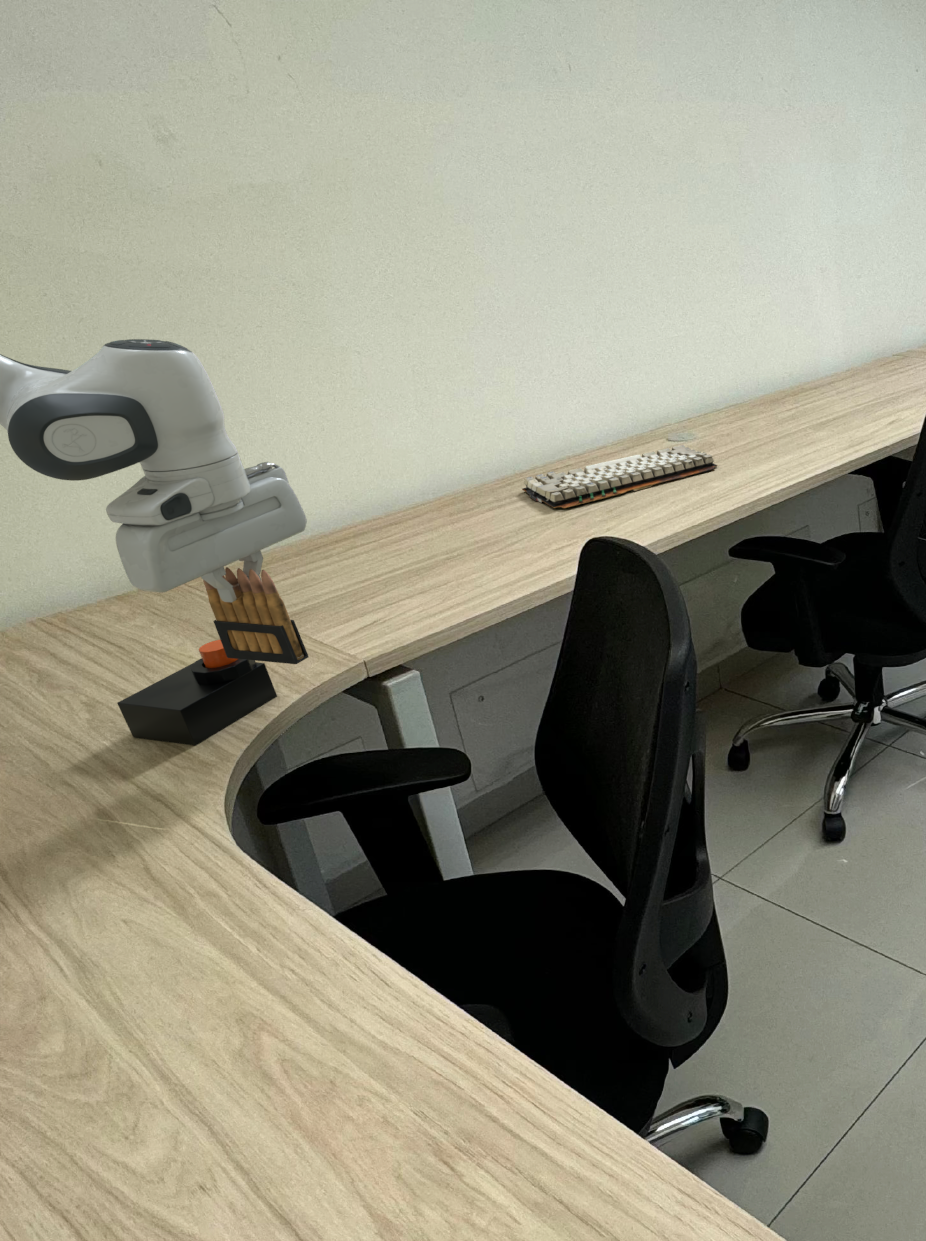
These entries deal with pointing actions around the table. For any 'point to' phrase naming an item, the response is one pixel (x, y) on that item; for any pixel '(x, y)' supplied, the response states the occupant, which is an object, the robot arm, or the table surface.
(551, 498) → the mechanical keyboard
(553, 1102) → the table surface
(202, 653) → the orange push button
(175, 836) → the table surface
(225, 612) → the ammunition clip
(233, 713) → the push button box
